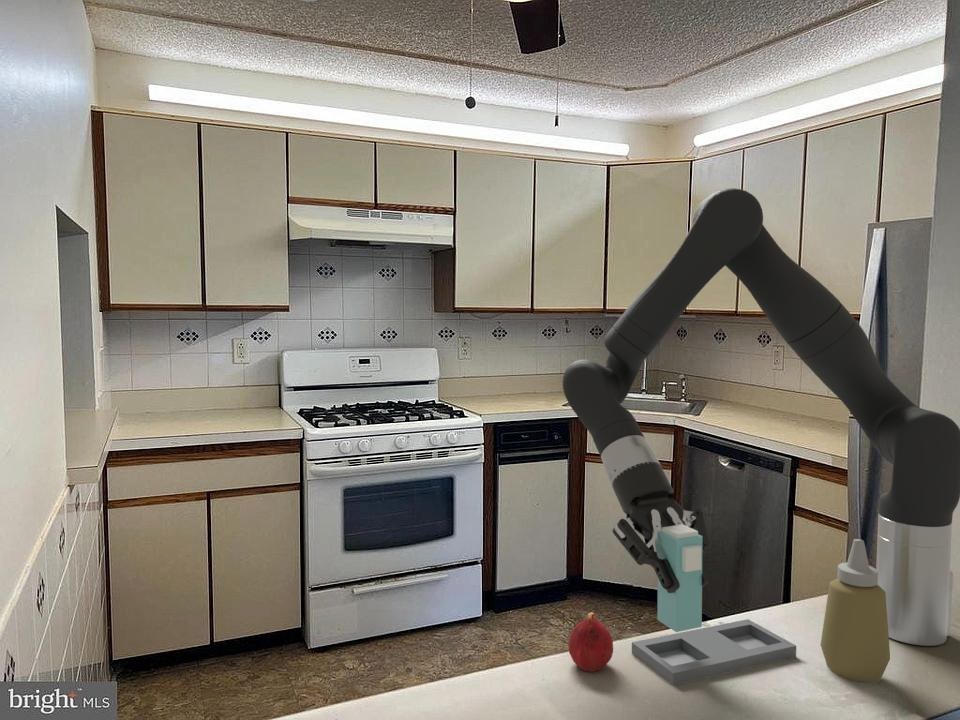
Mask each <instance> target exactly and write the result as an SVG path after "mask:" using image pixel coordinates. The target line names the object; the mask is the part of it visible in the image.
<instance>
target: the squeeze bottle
mask: <svg viewBox="0 0 960 720" xmlns="http://www.w3.org/2000/svg"><path fill="white" fill-rule="evenodd" d="M836 576H837V578H835V579H833V580H831V581H830V582H829V586H828V590H827V591H828V592H827V598H826V605H825V612H824V619H823V625H822V626H823V627H822V631H821V639H820V647H821V651H822V655H823V656H824V657H823V658H824V660H825V664H826V666H827V667H828V668H827V669H829V670H830V671H831V672H833V674H836V675H838V676H840V677H842V678H845V679H847V680H851V681H856V682H861V683H862V682H865V683H866V682H867V683H871V682H874V683H875V684H879V683H881V680H882V677H883V675H884V673H885V672H886V668H887V666H888V664H889V663H890V660H891V651H890V650H891V648H890V647H891V646H890V638H889V633H888V620H887V606H886V592H885V591H884V590H883V589H882V588H881V587H880V586H879V585H878V571H877V570H876V568H875V567H873V566H872V565H869V559H868V555H867V549H866V544H865V541H864V540H863V539H860V538H854V539H853V541H852V545H851V549H850V551H849V556H848V559H847V562H841V563H839V564H838V565H837V575H836Z"/></svg>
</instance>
